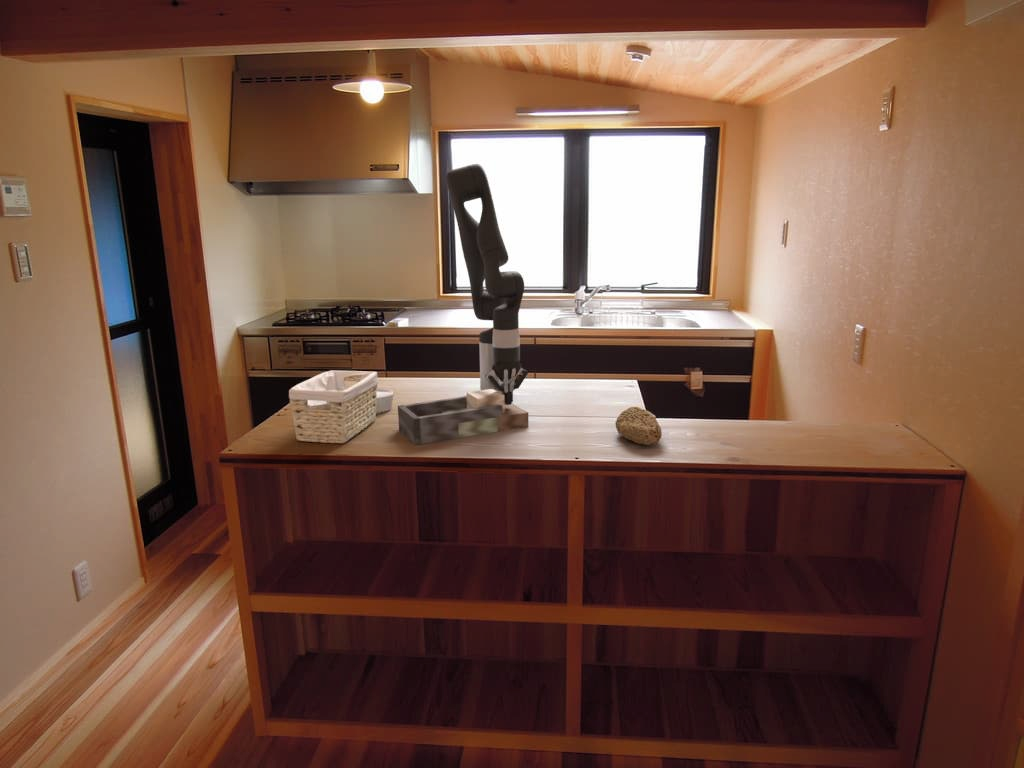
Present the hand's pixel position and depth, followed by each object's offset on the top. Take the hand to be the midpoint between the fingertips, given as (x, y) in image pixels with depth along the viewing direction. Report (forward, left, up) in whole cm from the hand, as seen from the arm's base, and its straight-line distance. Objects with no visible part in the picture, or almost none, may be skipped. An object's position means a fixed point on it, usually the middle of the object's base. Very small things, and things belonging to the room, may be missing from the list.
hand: (507, 404), depth 195 cm
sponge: (-24, +29, -6) cm, 38 cm away
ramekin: (+30, -30, -6) cm, 43 cm away
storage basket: (+45, -15, -6) cm, 47 cm away
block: (+7, 0, -1) cm, 7 cm away
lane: (+13, 0, -5) cm, 14 cm away
